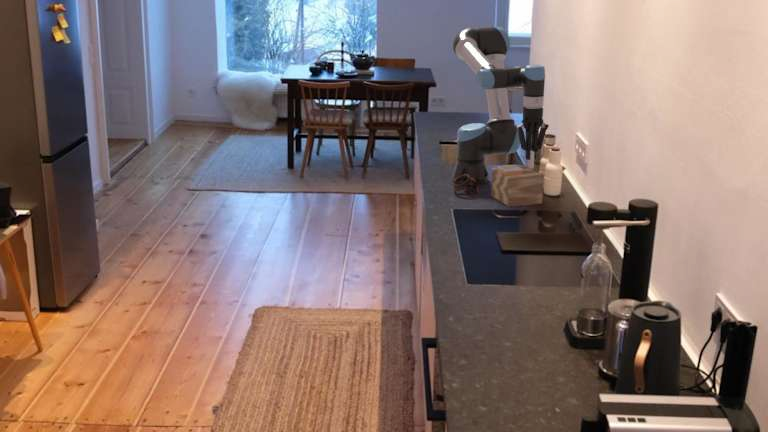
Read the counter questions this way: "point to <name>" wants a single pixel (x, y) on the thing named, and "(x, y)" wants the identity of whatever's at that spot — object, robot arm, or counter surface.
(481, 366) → the counter surface
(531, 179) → the oak block
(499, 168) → the tile
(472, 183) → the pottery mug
